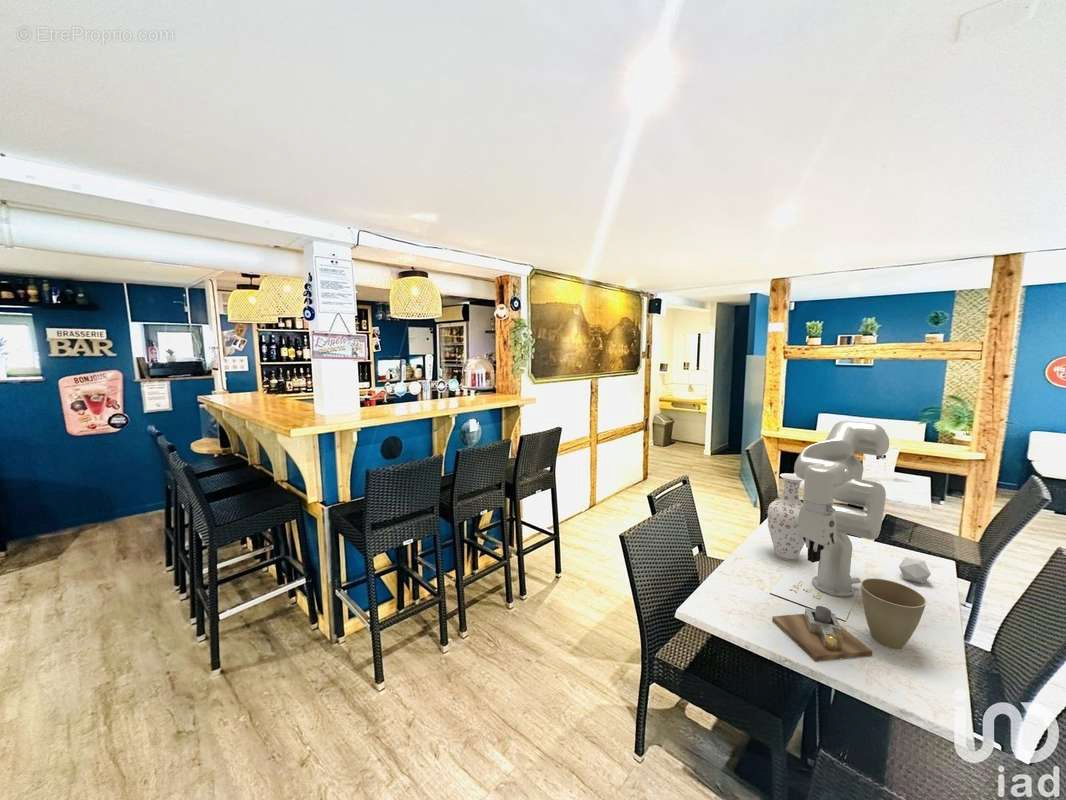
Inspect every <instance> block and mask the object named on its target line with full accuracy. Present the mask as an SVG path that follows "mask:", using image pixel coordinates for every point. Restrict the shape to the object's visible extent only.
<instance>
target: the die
mask: <svg viewBox="0 0 1066 800" xmlns="http://www.w3.org/2000/svg"><path fill="white" fill-rule="evenodd" d="M898 567H899V570H900V573H901V574H902V577H903V579H904V581H905V580H906V581H909V582H913V583H917V584H925V582H926V581H927V580H928V579H929V577H930V576H931V571H930V569H929V567H928V565H927V563H926V562H925V560H922V559H918V558H913V557H910V556H905V557H904V558H903V560H902V562H900V564H899V565H898Z"/></svg>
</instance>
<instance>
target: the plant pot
mask: <svg viewBox="0 0 1066 800" xmlns="http://www.w3.org/2000/svg"><path fill="white" fill-rule="evenodd" d="M860 591H861V600H862V601H861V602H862V608H863V611H864V615H865V619H866V623H867V626H868V629H869V632H870V635H871V637H872V639H873V640H874V641H875V642H877V643H878V644H880V645H882V646H883V647H887V648H888V649H889V648H890V649H893V650H901V649H903V648H904V647H905V646H906V644H907V643H908V642H909V640H910V639H911V637H912V636H913V634H914V633H915V631H916V629H917V628H918V626H919V623H920V621H921V619H922V617H923V614H924V611H925V607H926V605H927V599H926V598H925V597H924V595H922V594H921V593H919V591H916V589H913V588H912V587H909V586H907V585H905V584H902V583H899V582H897V581H893V580H889V579H885V578H884V579H883V578H877V577H876V578H873V577H872V578H865V579H862V580H861V582H860Z"/></svg>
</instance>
